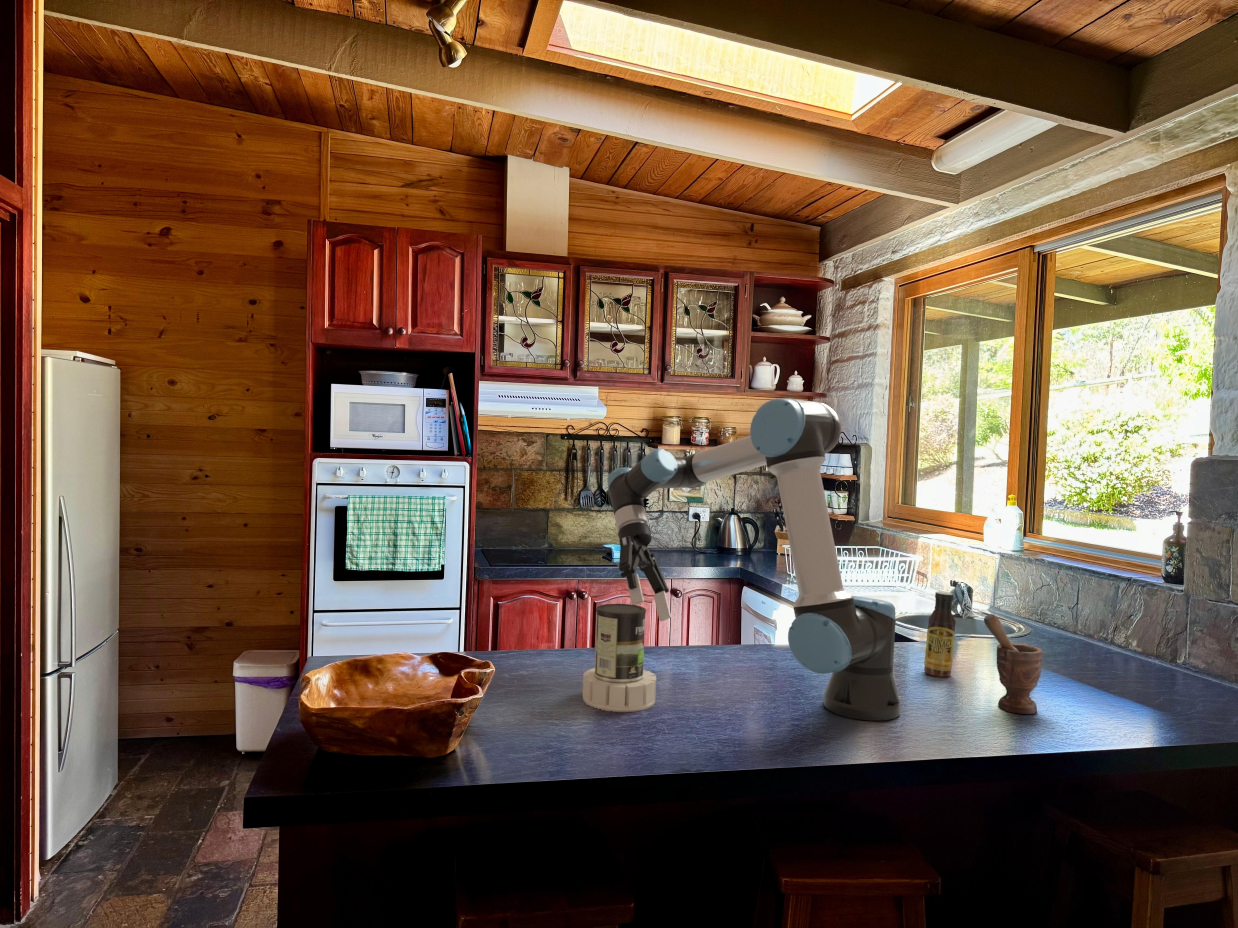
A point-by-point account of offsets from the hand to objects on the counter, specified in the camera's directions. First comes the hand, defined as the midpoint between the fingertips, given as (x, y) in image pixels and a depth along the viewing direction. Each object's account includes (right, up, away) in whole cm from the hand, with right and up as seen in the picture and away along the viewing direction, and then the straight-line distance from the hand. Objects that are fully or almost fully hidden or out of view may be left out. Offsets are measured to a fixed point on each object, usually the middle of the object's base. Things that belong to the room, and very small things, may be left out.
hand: (652, 611), depth 182 cm
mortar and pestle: (+75, -19, -10) cm, 78 cm away
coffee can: (-7, -11, -12) cm, 18 cm away
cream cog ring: (-7, -16, -12) cm, 22 cm away
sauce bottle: (+70, -18, +16) cm, 74 cm away
